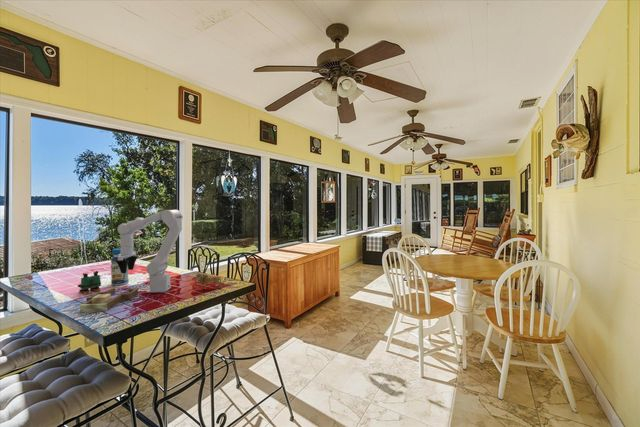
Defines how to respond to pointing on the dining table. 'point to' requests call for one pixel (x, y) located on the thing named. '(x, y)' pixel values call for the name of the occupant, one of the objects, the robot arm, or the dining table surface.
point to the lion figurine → (208, 279)
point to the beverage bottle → (117, 270)
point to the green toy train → (90, 283)
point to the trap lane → (104, 307)
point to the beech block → (101, 298)
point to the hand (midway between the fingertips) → (127, 271)
